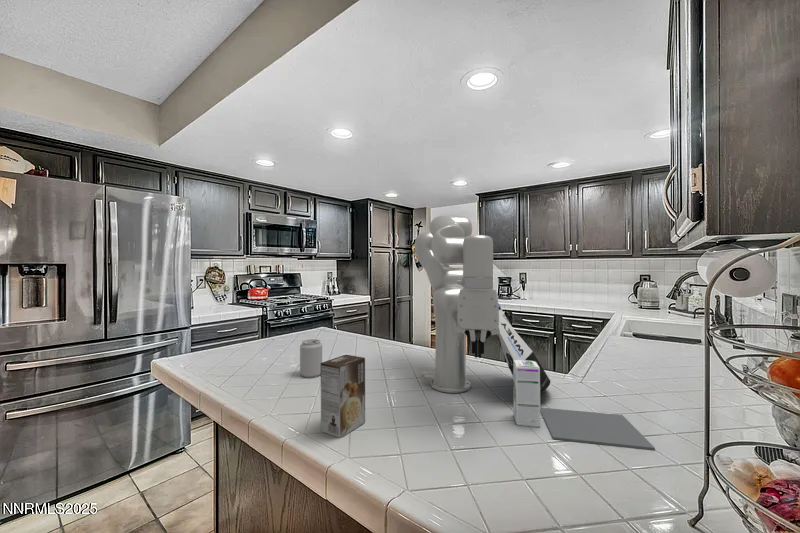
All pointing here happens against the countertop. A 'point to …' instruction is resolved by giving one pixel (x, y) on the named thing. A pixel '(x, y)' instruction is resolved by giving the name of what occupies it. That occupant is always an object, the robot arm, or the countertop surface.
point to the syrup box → (526, 393)
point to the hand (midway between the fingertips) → (477, 356)
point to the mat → (593, 428)
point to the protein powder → (517, 348)
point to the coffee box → (342, 394)
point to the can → (310, 358)
